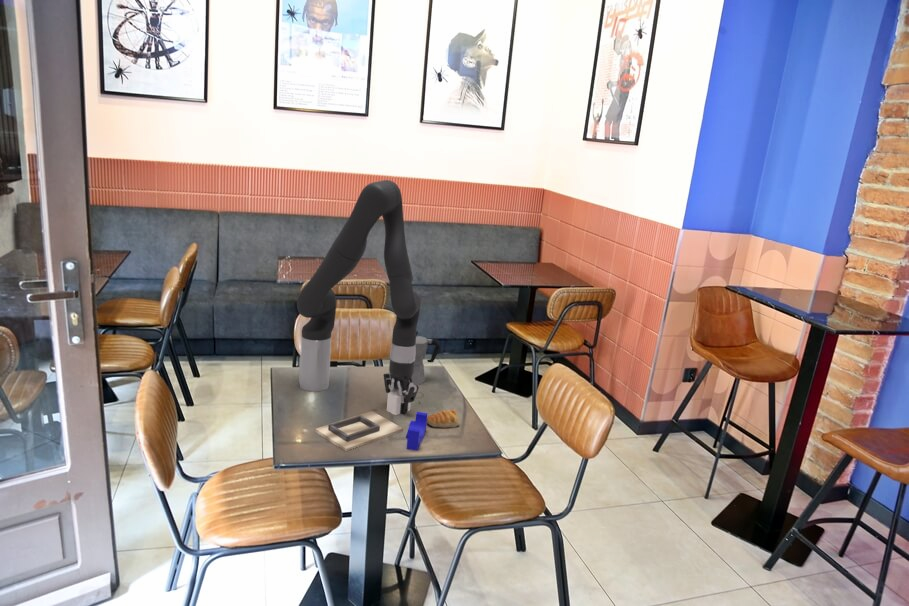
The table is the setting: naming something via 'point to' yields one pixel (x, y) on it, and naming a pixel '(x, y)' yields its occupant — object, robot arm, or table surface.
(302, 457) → the table surface
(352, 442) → the board
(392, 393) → the keyed plug
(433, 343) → the coffeepot
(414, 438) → the cable clip
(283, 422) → the table surface
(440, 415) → the pastry
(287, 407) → the table surface
